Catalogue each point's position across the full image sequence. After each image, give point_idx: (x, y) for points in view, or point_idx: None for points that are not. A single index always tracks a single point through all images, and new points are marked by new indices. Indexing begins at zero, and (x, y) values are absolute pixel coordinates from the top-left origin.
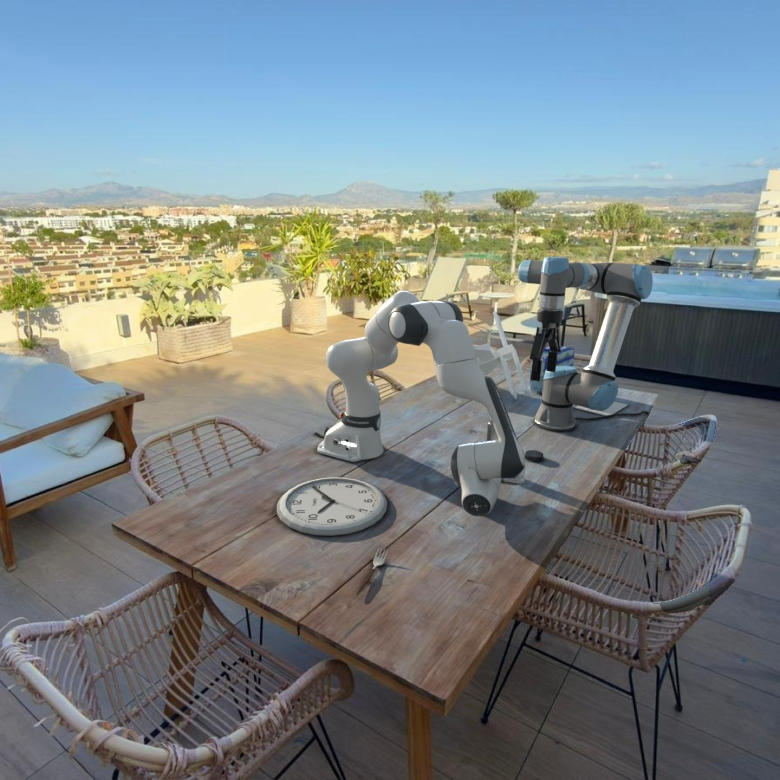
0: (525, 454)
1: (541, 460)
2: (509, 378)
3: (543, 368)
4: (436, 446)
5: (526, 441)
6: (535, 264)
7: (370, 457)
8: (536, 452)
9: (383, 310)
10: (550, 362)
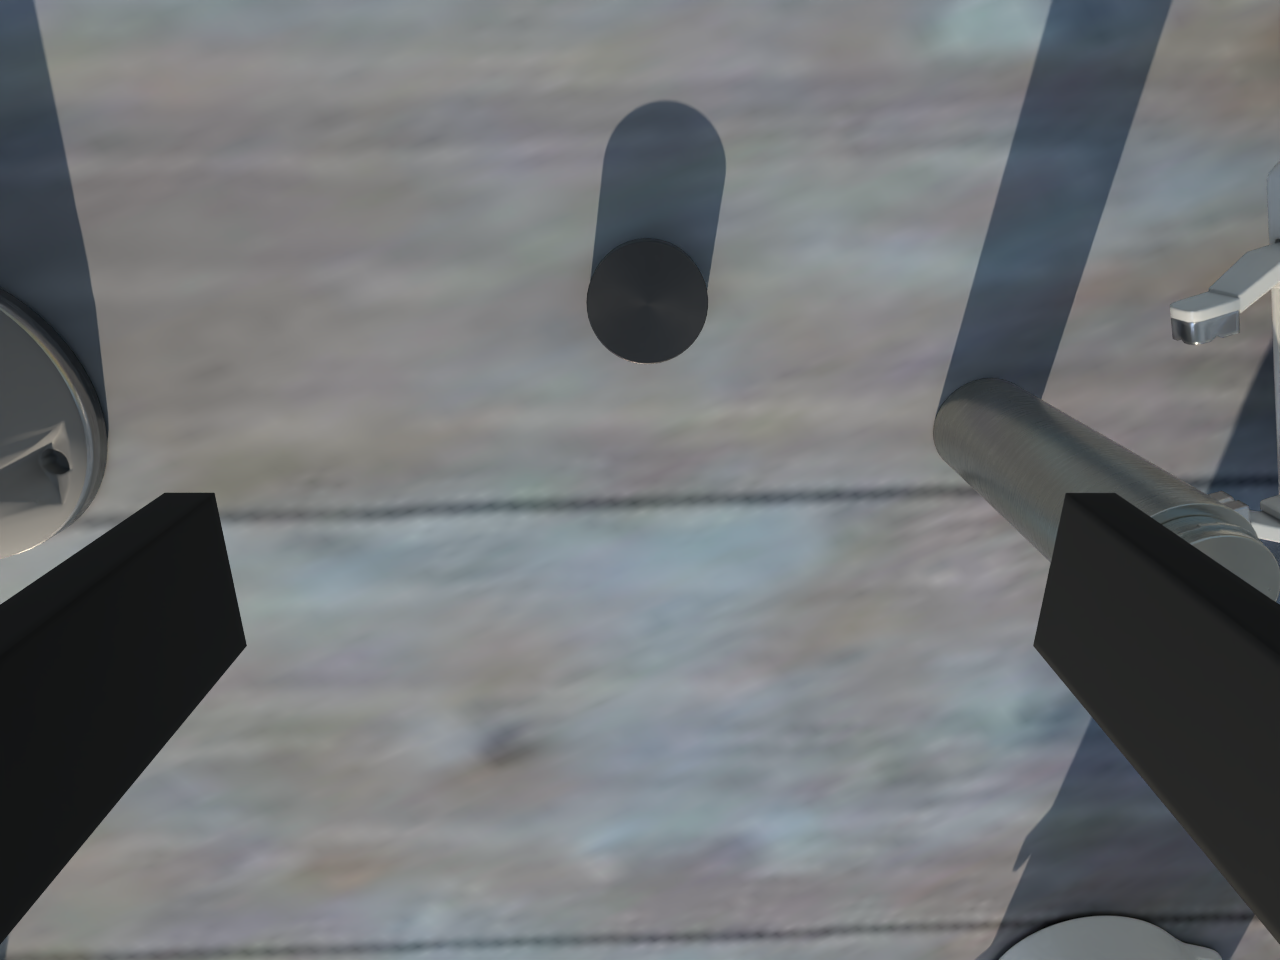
0: (677, 353)
1: (657, 239)
2: None
3: None
4: (834, 790)
5: (414, 445)
6: None
7: (1155, 930)
8: (621, 299)
9: None
10: (116, 714)
